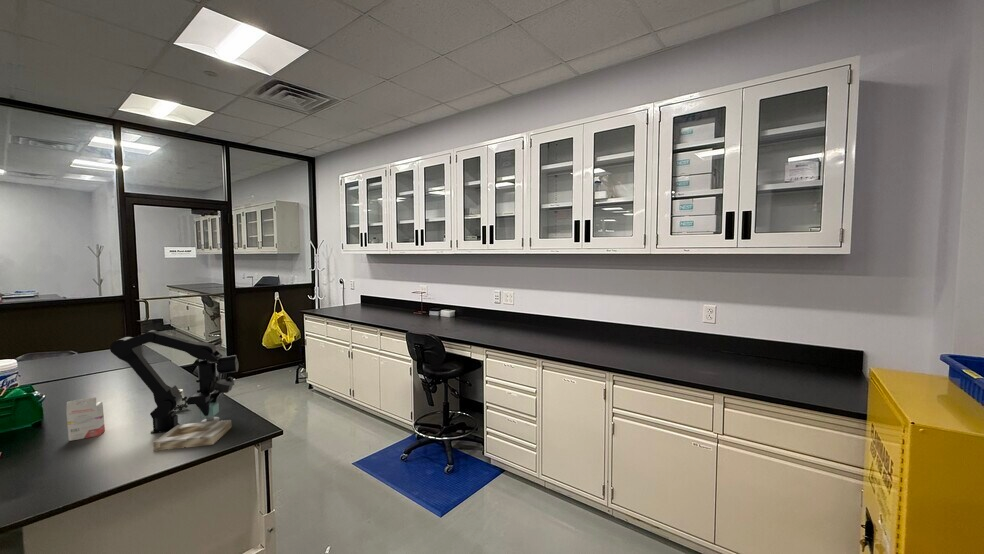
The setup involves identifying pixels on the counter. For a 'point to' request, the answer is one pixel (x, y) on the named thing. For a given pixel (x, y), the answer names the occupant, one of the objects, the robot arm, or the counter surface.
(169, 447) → the keyhole board
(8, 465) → the counter surface
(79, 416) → the ink cartridge box
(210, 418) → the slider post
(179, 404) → the valve
